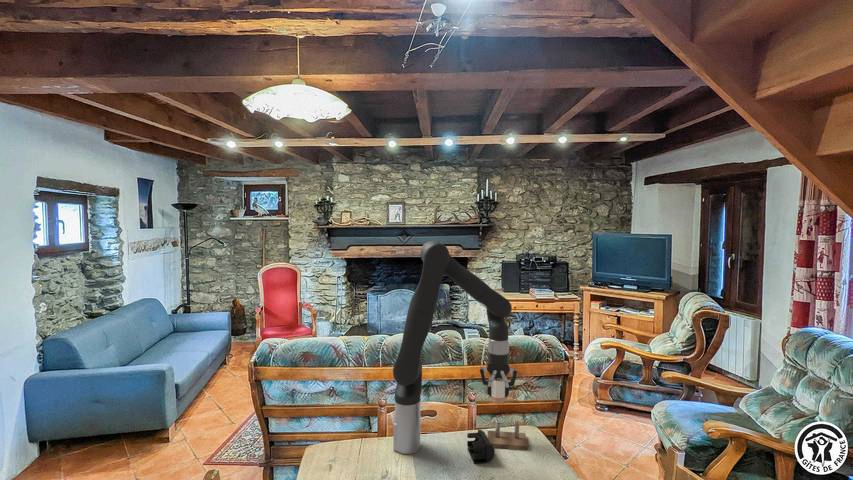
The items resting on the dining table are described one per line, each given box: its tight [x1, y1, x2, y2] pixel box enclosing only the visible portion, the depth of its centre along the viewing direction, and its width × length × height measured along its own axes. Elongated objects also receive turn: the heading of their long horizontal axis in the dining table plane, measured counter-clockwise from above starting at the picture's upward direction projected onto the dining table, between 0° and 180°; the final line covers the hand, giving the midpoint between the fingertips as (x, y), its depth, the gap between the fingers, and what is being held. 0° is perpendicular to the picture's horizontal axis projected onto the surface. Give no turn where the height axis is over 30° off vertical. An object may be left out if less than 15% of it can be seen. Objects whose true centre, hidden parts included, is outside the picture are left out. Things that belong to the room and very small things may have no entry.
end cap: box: [466, 429, 496, 465], centre depth 136 cm, size 10×7×7 cm
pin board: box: [487, 420, 529, 451], centre depth 145 cm, size 14×9×7 cm, turn 83°
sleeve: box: [490, 378, 506, 404], centre depth 145 cm, size 5×5×8 cm
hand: (498, 395), depth 145 cm, fingers closed on sleeve, 5 cm apart
